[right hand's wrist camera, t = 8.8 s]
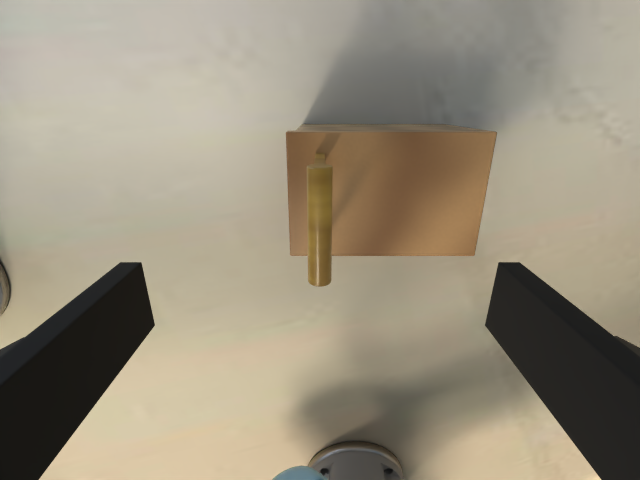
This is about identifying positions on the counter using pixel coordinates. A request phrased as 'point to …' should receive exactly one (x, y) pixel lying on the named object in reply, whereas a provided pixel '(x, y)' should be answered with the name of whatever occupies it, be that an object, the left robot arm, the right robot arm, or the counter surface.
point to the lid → (385, 194)
